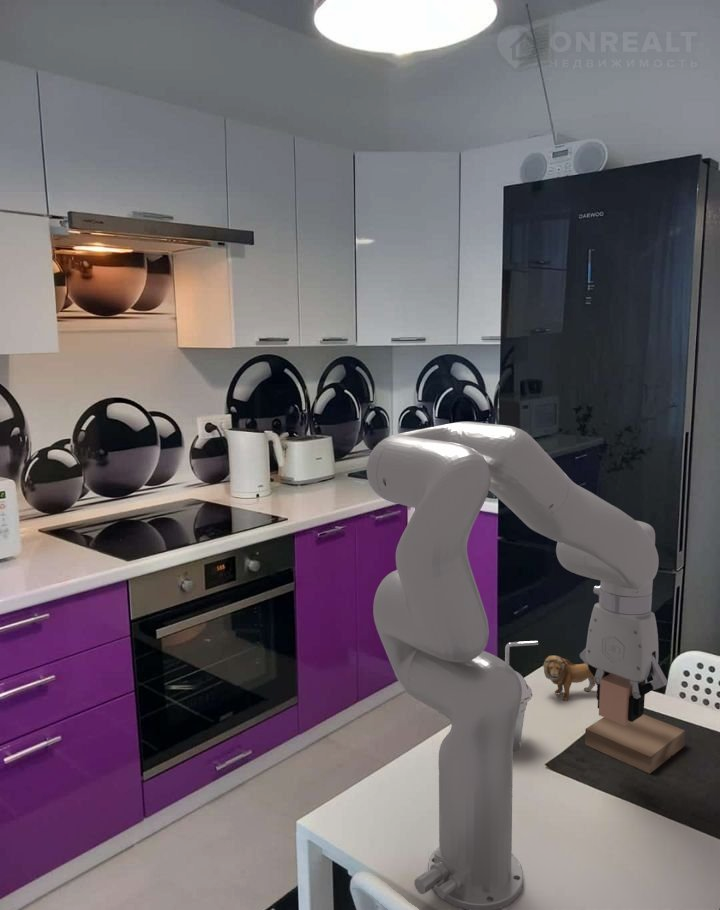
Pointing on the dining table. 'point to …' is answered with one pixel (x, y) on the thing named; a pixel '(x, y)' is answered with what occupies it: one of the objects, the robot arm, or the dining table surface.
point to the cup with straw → (525, 694)
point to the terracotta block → (615, 698)
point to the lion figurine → (566, 674)
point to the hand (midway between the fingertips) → (619, 711)
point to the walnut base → (636, 741)
